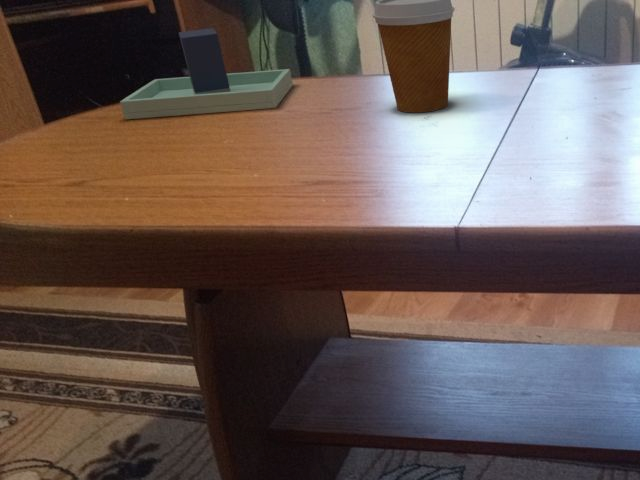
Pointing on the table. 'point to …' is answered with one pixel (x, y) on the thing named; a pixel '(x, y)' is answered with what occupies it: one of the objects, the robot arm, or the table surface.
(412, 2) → the disposable coffee cup
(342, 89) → the table surface
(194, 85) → the eraser
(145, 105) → the tray
